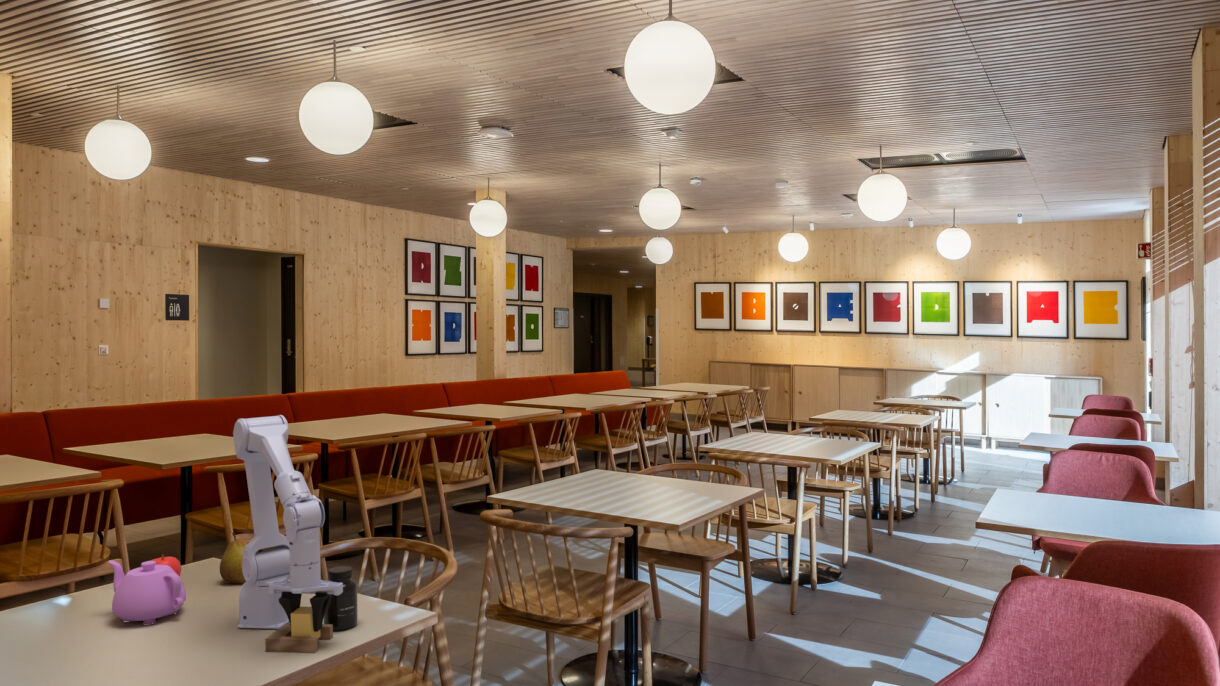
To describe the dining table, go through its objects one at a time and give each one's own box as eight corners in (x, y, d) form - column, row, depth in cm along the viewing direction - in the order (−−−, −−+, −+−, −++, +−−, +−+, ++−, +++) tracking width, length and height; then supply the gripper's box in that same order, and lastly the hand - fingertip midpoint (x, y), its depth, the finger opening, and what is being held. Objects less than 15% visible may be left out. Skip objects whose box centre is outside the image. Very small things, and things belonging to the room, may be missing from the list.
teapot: (82, 623, 174) (81, 567, 174) (138, 602, 188) (136, 550, 188) (156, 632, 169) (154, 574, 168) (208, 609, 182) (206, 555, 182)
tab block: (301, 635, 163) (300, 606, 162) (320, 636, 162) (319, 606, 162) (291, 643, 159) (290, 613, 158) (311, 644, 158) (310, 614, 158)
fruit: (257, 584, 200) (256, 536, 199) (217, 588, 197) (215, 539, 197) (262, 574, 208) (260, 527, 208) (223, 577, 205) (222, 530, 205)
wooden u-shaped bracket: (265, 651, 158) (265, 638, 157) (286, 635, 165) (285, 623, 165) (314, 652, 156) (314, 639, 156) (333, 636, 164) (332, 624, 164)
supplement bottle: (347, 632, 166) (346, 575, 166) (317, 630, 168) (315, 573, 168) (364, 620, 173) (362, 565, 173) (335, 619, 175) (333, 563, 174)
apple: (137, 591, 196) (136, 558, 196) (161, 580, 204) (159, 549, 204) (166, 592, 195) (165, 559, 194) (189, 582, 202) (188, 550, 202)
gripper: (259, 567, 157) (261, 636, 158) (331, 568, 156) (332, 638, 156) (278, 556, 164) (279, 623, 165) (346, 557, 163) (348, 624, 163)
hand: (306, 629), depth 161 cm, fingers closed on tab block, 4 cm apart
